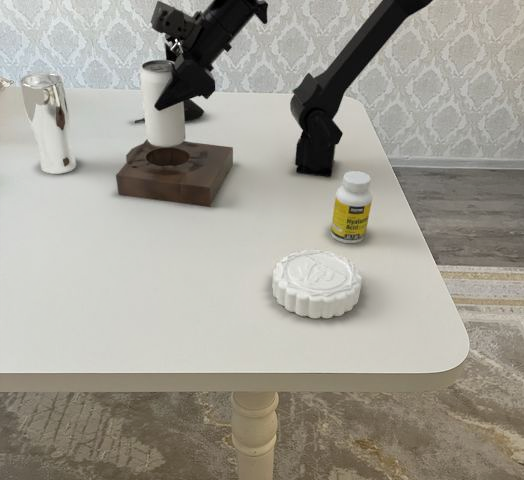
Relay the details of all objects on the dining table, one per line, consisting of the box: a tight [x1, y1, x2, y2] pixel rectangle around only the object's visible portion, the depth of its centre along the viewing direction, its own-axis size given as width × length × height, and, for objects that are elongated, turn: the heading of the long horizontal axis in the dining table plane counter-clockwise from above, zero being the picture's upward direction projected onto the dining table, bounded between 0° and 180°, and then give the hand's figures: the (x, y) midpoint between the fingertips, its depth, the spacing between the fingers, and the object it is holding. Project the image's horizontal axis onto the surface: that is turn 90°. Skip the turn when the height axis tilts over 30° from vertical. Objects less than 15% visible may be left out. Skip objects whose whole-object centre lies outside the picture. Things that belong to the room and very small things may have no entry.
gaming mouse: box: [134, 99, 205, 124], centre depth 123 cm, size 6×15×4 cm, turn 113°
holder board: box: [115, 139, 234, 208], centre depth 103 cm, size 17×16×4 cm
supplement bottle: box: [330, 170, 373, 244], centre depth 89 cm, size 5×5×10 cm
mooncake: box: [271, 249, 363, 319], centre depth 80 cm, size 12×12×4 cm
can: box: [139, 59, 186, 148], centre depth 96 cm, size 6×6×12 cm
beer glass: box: [19, 72, 77, 175], centre depth 101 cm, size 7×7×15 cm
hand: (154, 101), depth 95 cm, fingers closed on can, 6 cm apart
